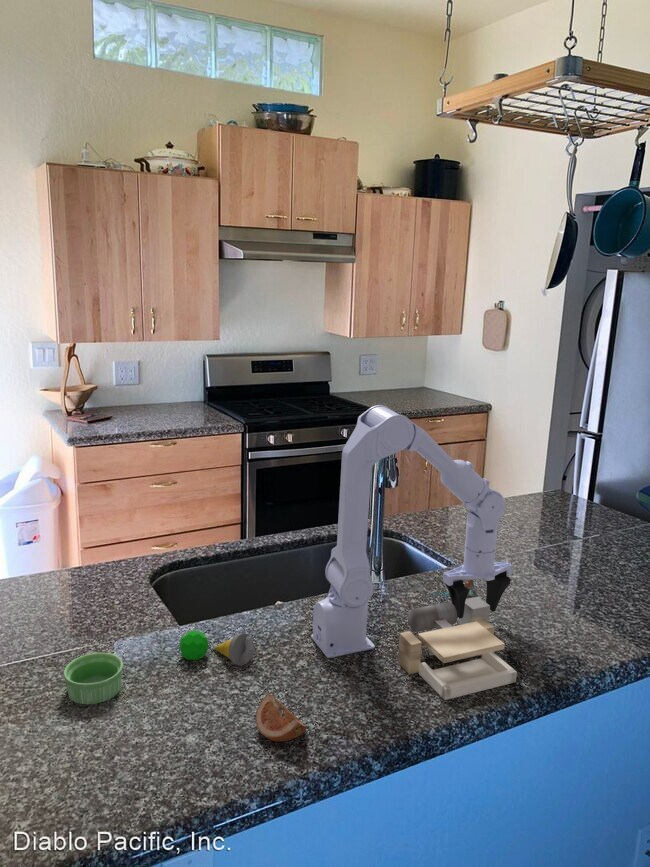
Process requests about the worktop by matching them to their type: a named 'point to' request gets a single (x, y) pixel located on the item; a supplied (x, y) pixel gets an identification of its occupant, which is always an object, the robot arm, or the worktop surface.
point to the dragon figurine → (468, 585)
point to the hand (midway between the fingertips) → (474, 612)
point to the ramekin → (93, 677)
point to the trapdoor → (451, 633)
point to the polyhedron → (193, 645)
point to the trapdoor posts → (412, 647)
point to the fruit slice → (277, 720)
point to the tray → (468, 676)
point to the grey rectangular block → (475, 610)
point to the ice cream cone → (238, 649)
